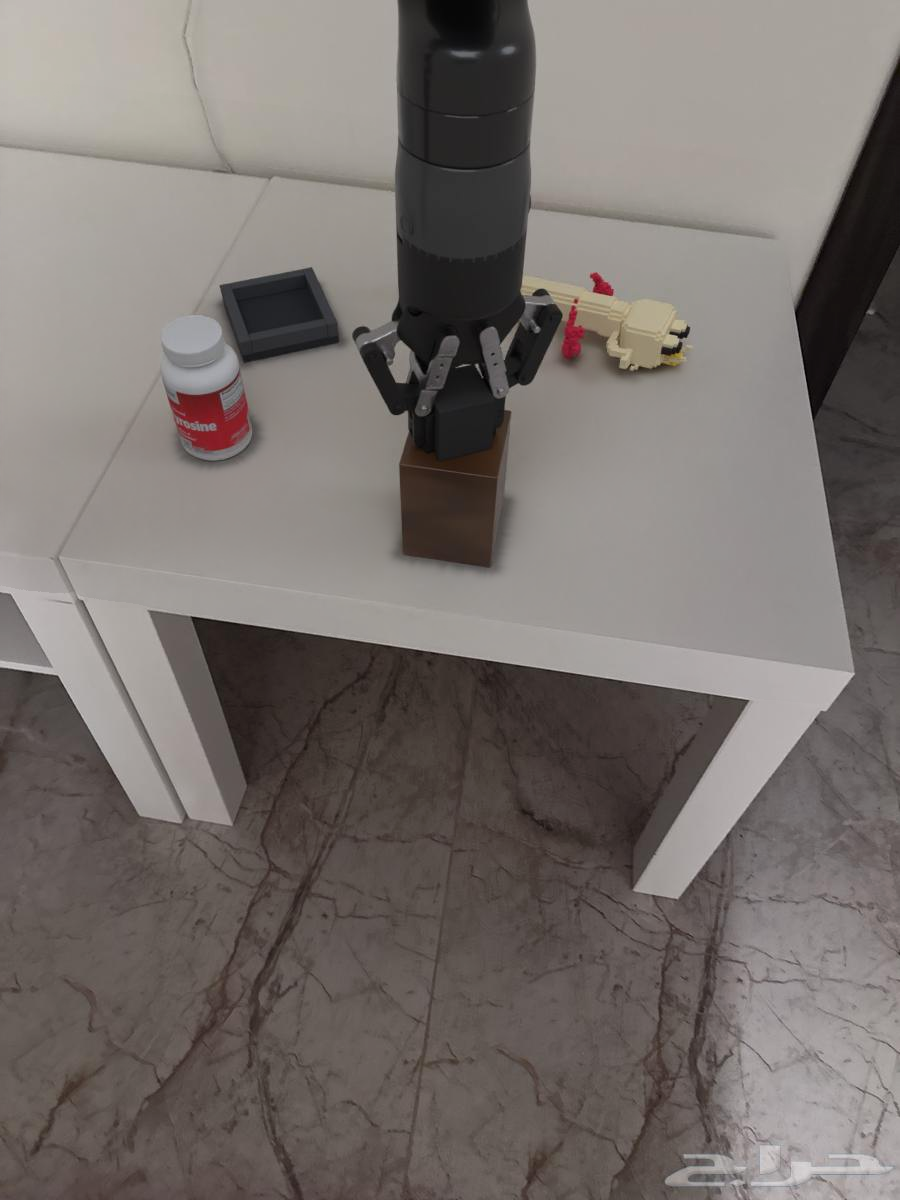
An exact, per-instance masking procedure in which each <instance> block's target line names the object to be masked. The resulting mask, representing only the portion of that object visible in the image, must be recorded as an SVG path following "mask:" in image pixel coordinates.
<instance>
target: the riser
mask: <svg viewBox="0 0 900 1200" xmlns="http://www.w3.org/2000/svg"><path fill="white" fill-rule="evenodd" d="M512 413H513V412H512V410H509V409H505V410H504V421H503V423H502V425H501V427H499V428H496V435H495V436H493V439H492V449H489V450H485V451H480V452H476V453H472V454H468V455H464V456H460V457H456V458H452V459H448V460H444V461H439V460H438V458H437V456H436V454H435V452H434V451H430V452H426V453H425V452H424V450H423V448H422V446H421V447H417V446H416V444H415V442H414V440H413V438H412V436H411V434H410V432H409V431H408V432H407V437H406V440H405V443H404V447H403V450H402V453H401V456H400V458H399V459H400V460H399V463H398V471H399V472H398V473H399V496H400V518H401V522H400V523H401V540H402V542H401V545H402V555H405V556H410V557H411V556H412V557H418V558H423V559H431V560H436V561H437V560H438V561H443V562H444V561H445V562H452V563H458V564H463V565H471V566H477V567H478V566H479V567H485V568H491V567H492V563H493V557H494V551H495V549H496V548H495V547H496V542H497V537H498V534H499V533H498V532H499V526H500V521H501V516H502V513H503V512H502V511H503V507H504V502H505V501H504V500H505V489H506V479H507V478H506V477H507V467H508V455H509V446H510V434H511V433H510V432H511V425H512V424H511V421H512Z"/></svg>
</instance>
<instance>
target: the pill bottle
mask: <svg viewBox="0 0 900 1200" xmlns="http://www.w3.org/2000/svg"><path fill="white" fill-rule="evenodd" d="M160 342H161V346H162V351H163V353H164V354H163V356H162V358H161V360H160V365H159V371H160V376H161V380H162V384H163V386H164V389H165V393H166V396H167V400H168V404H169V407H170V410H171V413H172V417H173V420H174V424H175V427H176V430H177V435H178V437H179V440H180V443H181V445H182V447H183V449H184V450H185V451H186V452H187V453H188V454H190V455H191V456H193V457H195V458H197V459H200V460H205V461H209V462H211V461H212V462H213V461H214V462H217V461H223V460H227V459H229V458H232V457H235V456H237V455H238V454H240V453H241V452H242V451H244V450H245V449H246V447H247V446H248V445H249V444H250V443H251V439H252V437H253V425H252V420H251V415H250V411H249V410H250V409H249V405H248V400H247V395H246V391H245V385H244V380H243V377H242V372H241V366H240V362H239V357H238V355H237V354H236V353H237V352H236V351H235V350H234V348H232V347H231V346H230V345H229V344H228V343H226V339H225V336H224V333H223V328H222V327H221V325H220V323H219V322H218V321H217V320H215V319H214V318H212V317H209V316H206V315H202V314H188V315H183V316H180V317H177V318H174V319H172V320H171V321H169V322H168V323H167V324H165V326H164V327H163V328H162V330H161V333H160Z"/></svg>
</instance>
